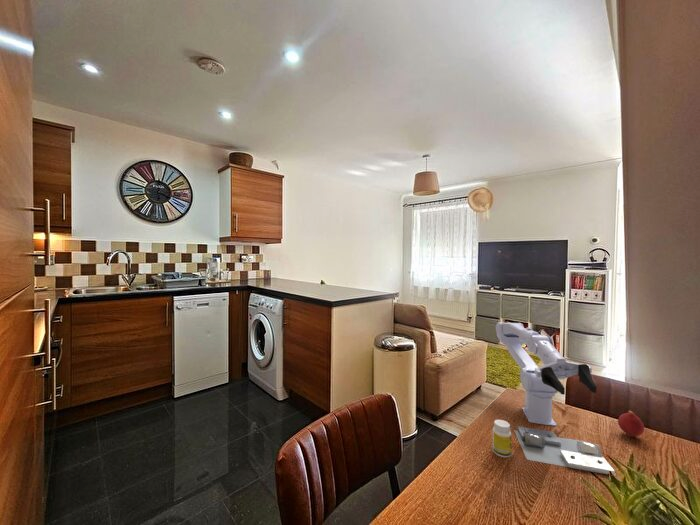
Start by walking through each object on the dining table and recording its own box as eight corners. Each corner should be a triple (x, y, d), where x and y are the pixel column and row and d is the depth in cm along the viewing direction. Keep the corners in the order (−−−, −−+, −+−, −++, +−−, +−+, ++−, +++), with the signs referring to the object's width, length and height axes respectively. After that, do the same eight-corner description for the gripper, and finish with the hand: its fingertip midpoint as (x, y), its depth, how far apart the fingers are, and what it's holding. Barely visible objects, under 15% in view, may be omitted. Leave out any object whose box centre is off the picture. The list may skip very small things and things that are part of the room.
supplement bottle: (513, 459, 80) (514, 429, 80) (495, 456, 81) (495, 427, 81) (507, 448, 85) (508, 419, 85) (490, 445, 86) (490, 417, 86)
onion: (632, 431, 93) (633, 406, 93) (649, 442, 88) (650, 416, 87) (613, 430, 94) (613, 405, 94) (628, 441, 88) (629, 415, 88)
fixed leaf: (515, 429, 94) (515, 419, 94) (553, 435, 91) (553, 425, 90) (523, 447, 85) (523, 436, 85) (565, 454, 82) (566, 443, 82)
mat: (514, 430, 93) (514, 430, 93) (588, 442, 88) (588, 442, 88) (527, 460, 80) (527, 459, 80) (616, 476, 74) (616, 475, 74)
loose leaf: (555, 446, 85) (555, 435, 85) (596, 452, 83) (596, 441, 82) (568, 467, 77) (568, 455, 77) (614, 475, 74) (615, 463, 74)
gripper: (527, 351, 92) (549, 380, 80) (578, 346, 90) (610, 376, 77) (528, 369, 94) (549, 401, 82) (578, 366, 92) (608, 398, 79)
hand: (579, 390), depth 79 cm, fingers open, 7 cm apart
